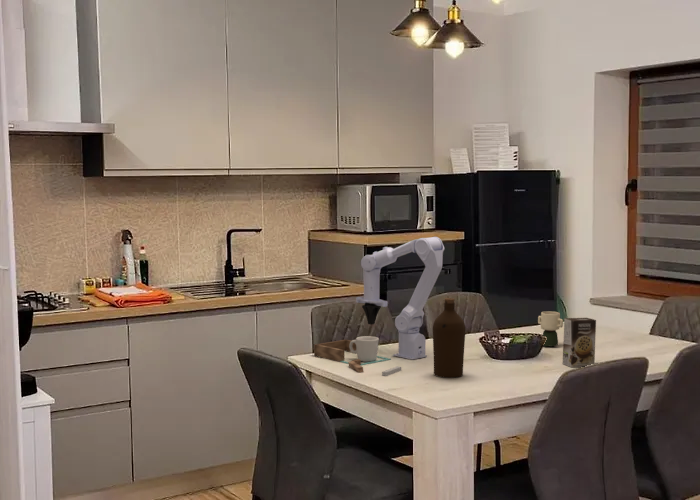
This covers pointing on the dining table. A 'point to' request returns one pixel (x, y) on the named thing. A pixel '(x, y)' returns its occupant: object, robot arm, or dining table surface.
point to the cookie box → (579, 342)
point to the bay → (371, 362)
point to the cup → (365, 348)
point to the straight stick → (391, 371)
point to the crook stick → (356, 365)
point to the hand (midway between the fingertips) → (371, 324)
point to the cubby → (333, 349)
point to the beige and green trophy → (550, 326)
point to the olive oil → (448, 342)
